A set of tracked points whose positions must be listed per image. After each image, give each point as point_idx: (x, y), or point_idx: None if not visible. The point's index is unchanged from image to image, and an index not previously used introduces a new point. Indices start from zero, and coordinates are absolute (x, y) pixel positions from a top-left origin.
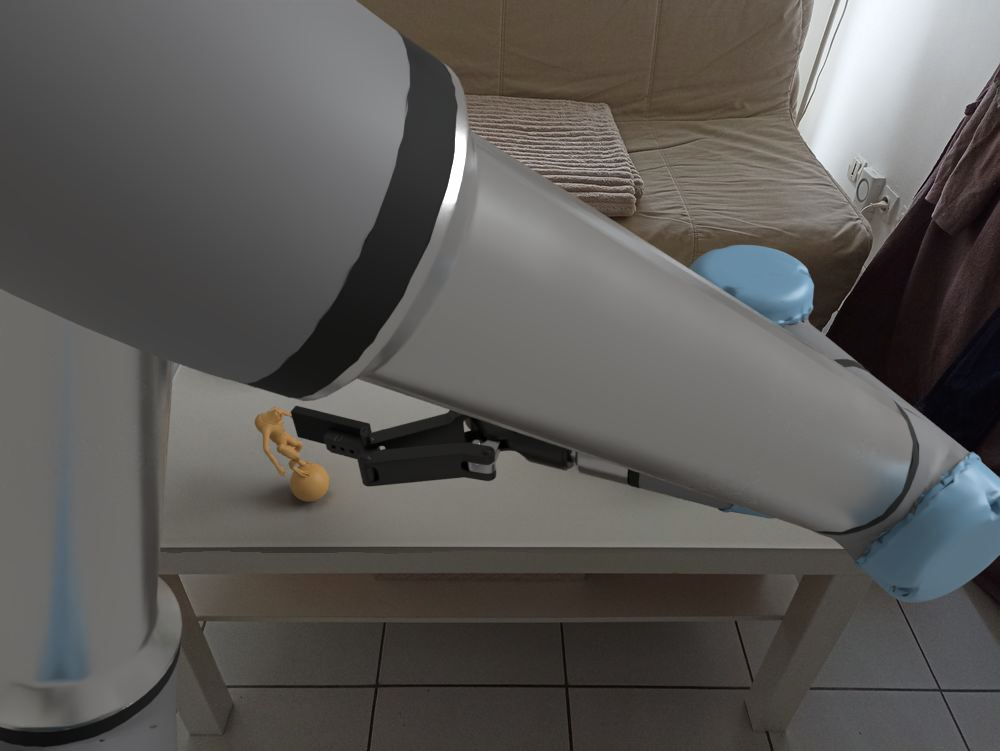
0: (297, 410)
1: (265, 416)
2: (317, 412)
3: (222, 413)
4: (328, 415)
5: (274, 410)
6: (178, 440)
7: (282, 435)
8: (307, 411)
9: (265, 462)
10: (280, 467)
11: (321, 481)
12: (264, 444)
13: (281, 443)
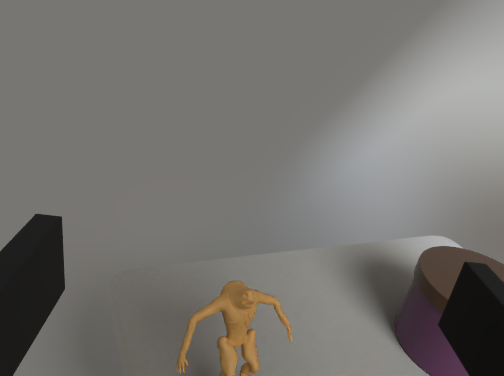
0: (39, 222)
1: (236, 287)
2: (22, 253)
3: (300, 290)
4: (2, 276)
5: (246, 289)
6: (248, 273)
7: (236, 330)
8: (33, 237)
9: (258, 357)
10: (183, 356)
11: None
12: (197, 312)
13: (229, 338)
